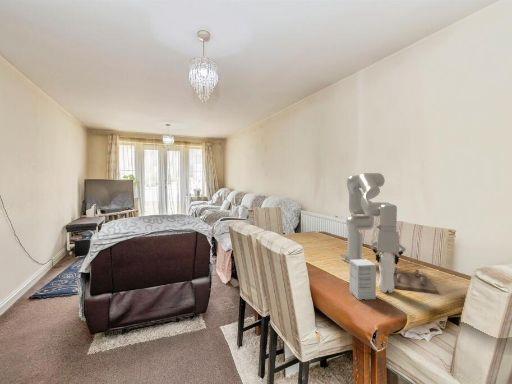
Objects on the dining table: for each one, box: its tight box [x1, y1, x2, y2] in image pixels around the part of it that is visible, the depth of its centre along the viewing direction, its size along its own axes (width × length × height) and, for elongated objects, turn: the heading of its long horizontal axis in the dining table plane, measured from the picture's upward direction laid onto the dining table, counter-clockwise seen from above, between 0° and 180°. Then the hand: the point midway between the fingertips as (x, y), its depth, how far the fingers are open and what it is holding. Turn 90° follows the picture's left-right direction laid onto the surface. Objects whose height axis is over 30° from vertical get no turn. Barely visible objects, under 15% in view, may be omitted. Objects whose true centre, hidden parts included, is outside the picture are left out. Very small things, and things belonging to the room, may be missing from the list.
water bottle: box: [378, 251, 396, 294], centre depth 129 cm, size 7×7×25 cm
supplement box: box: [348, 258, 377, 301], centre depth 125 cm, size 10×9×17 cm
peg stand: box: [394, 266, 439, 295], centre depth 140 cm, size 22×22×6 cm
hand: (386, 262), depth 129 cm, fingers open, 7 cm apart
